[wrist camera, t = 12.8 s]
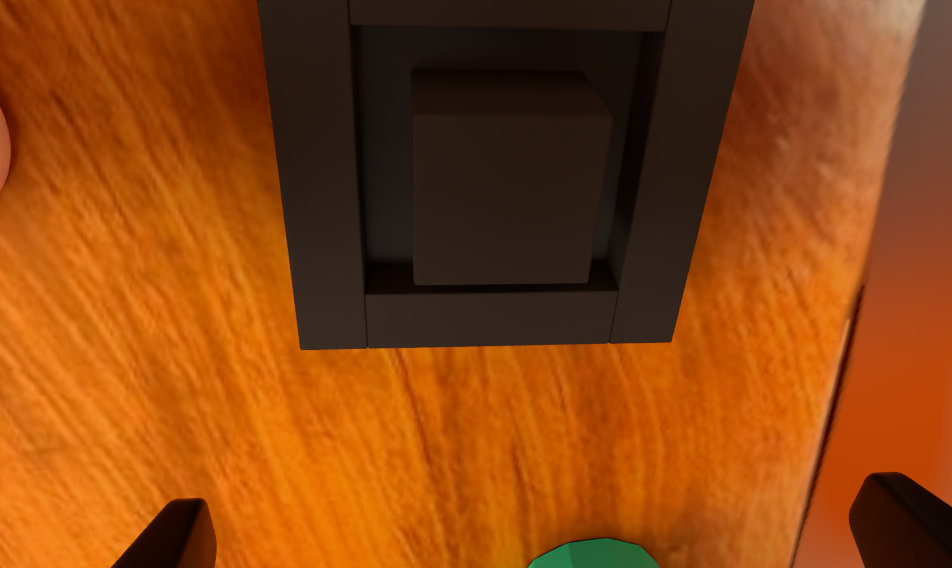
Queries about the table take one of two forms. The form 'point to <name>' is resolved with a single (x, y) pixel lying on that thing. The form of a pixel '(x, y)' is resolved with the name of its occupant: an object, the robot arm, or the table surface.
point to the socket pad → (390, 160)
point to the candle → (596, 556)
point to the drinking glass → (4, 150)
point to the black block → (505, 175)
